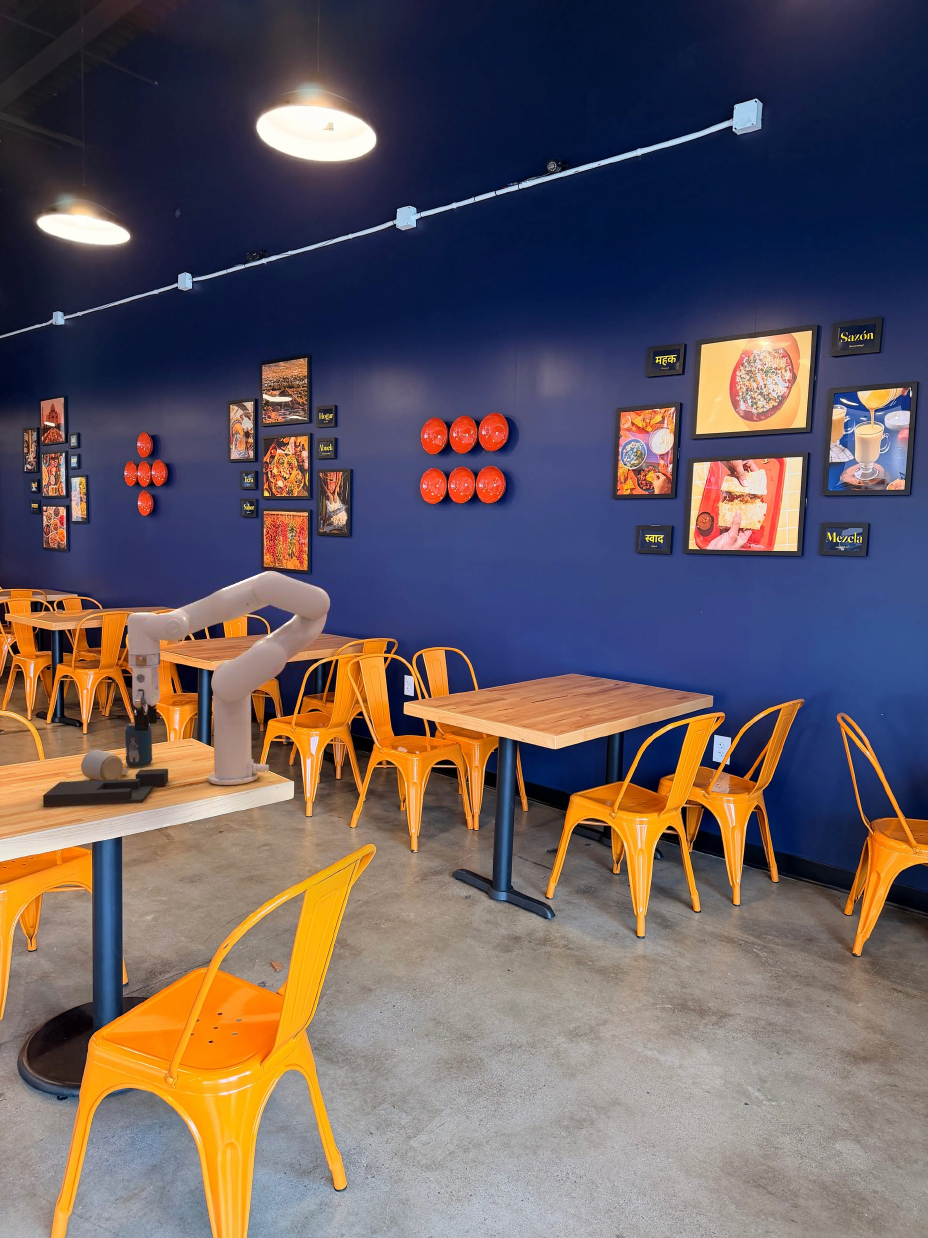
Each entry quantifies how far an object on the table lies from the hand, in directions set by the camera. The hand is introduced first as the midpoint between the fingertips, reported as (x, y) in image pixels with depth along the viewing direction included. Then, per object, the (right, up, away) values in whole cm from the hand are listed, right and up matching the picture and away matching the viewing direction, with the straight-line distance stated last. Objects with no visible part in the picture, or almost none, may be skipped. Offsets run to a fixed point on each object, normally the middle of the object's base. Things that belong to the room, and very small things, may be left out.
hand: (146, 727), depth 205 cm
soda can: (-10, -14, +21) cm, 28 cm away
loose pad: (+1, -15, +1) cm, 15 cm away
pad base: (-7, -16, -11) cm, 20 cm away
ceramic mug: (-13, -15, +7) cm, 21 cm away
